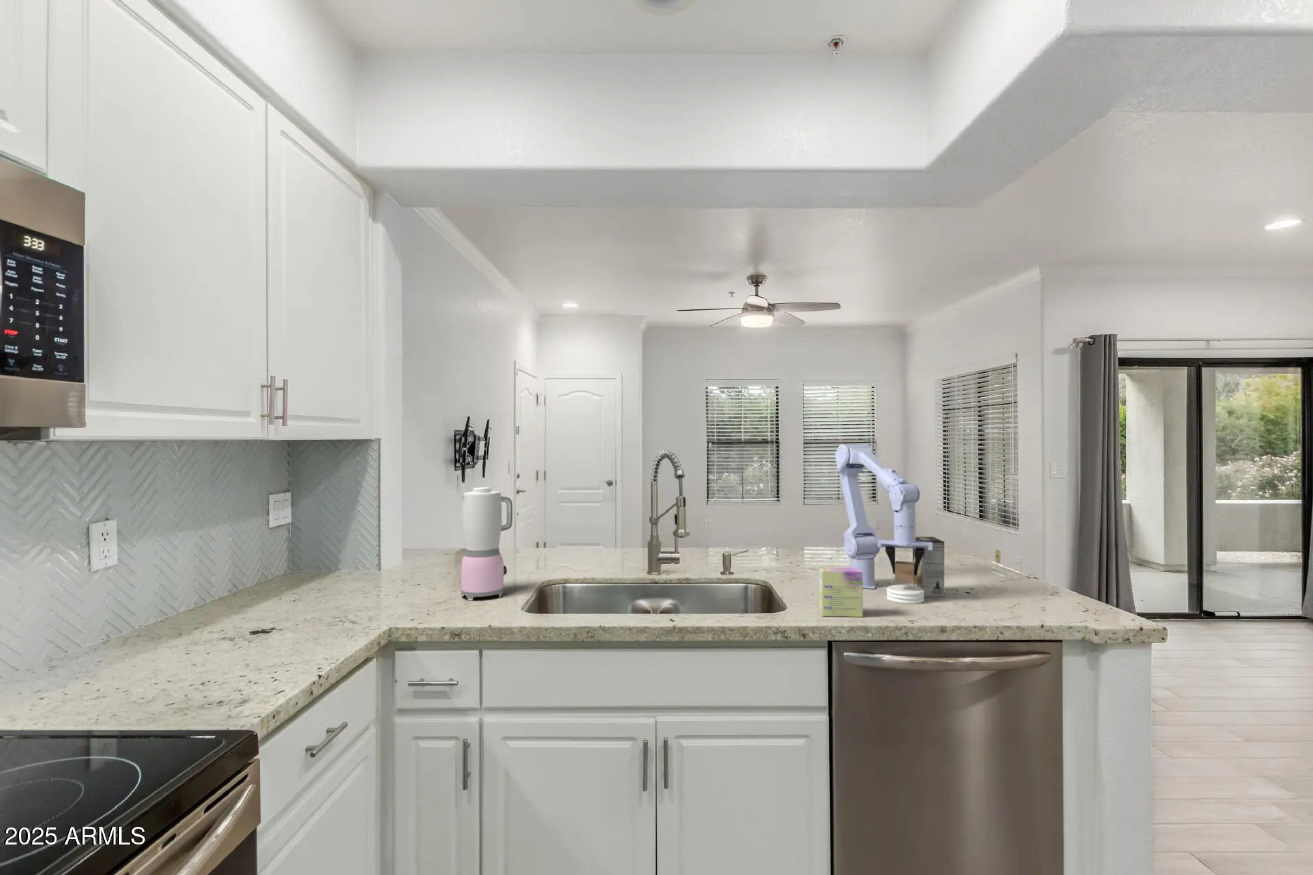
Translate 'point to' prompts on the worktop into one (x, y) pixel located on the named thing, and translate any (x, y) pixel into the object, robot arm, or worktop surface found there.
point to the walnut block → (905, 572)
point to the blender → (483, 542)
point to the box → (841, 592)
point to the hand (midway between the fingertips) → (905, 573)
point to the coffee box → (931, 568)
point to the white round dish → (905, 594)
